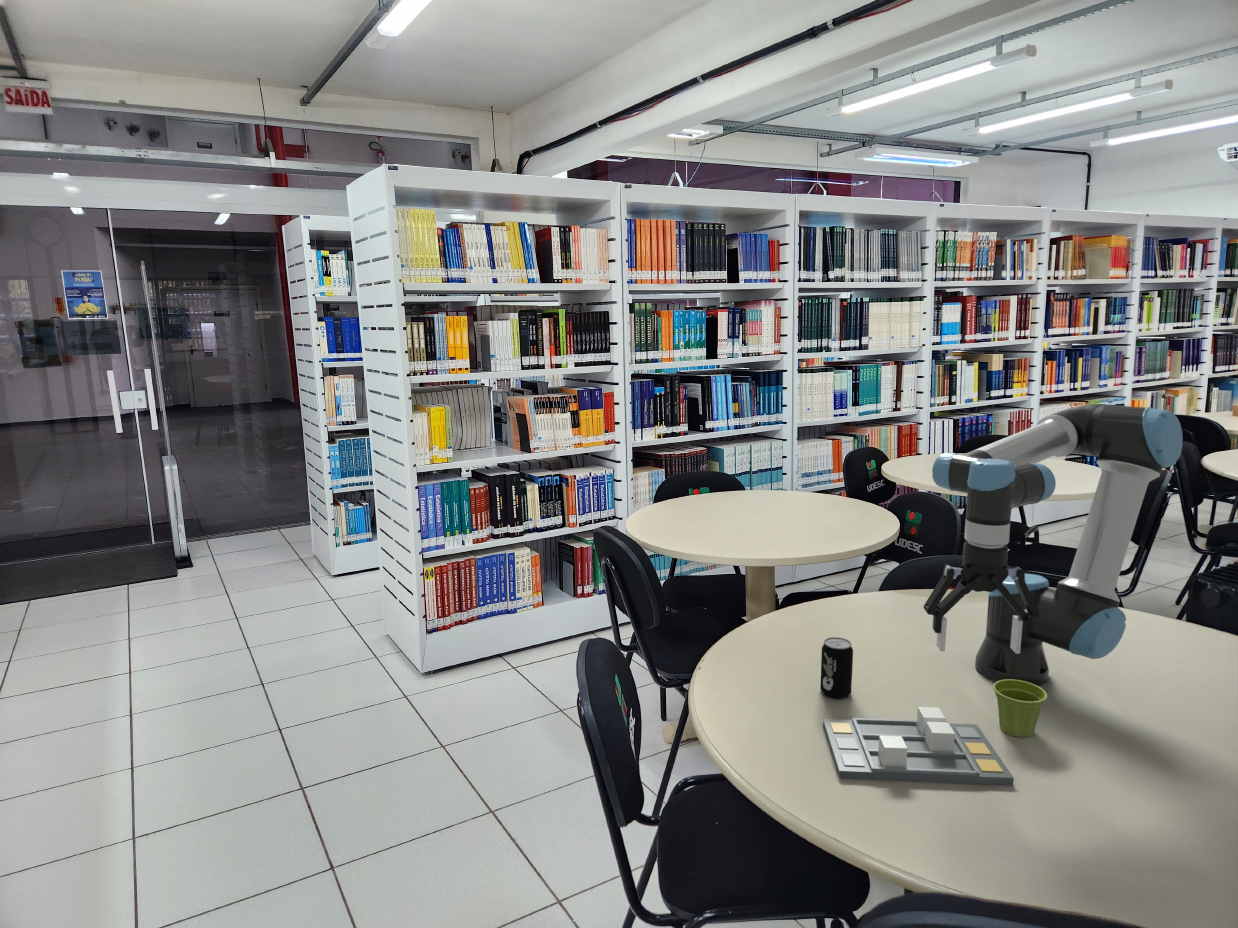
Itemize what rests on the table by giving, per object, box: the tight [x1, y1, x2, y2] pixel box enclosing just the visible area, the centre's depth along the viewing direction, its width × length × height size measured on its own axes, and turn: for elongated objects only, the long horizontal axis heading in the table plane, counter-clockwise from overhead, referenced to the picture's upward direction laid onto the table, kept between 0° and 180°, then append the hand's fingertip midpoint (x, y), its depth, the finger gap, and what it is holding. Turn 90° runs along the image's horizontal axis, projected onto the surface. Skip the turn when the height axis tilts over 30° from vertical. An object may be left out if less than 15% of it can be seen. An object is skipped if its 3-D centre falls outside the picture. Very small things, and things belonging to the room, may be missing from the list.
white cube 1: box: [916, 706, 946, 736], centre depth 149 cm, size 4×4×4 cm
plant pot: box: [992, 679, 1048, 739], centre depth 152 cm, size 9×9×9 cm
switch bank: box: [822, 717, 1015, 787], centre depth 145 cm, size 30×18×2 cm, turn 84°
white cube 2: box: [925, 721, 955, 752], centre depth 144 cm, size 4×4×4 cm
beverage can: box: [820, 636, 854, 700], centre depth 167 cm, size 7×7×12 cm
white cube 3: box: [878, 736, 907, 768], centre depth 139 cm, size 4×4×4 cm
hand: (977, 649), depth 146 cm, fingers open, 13 cm apart
